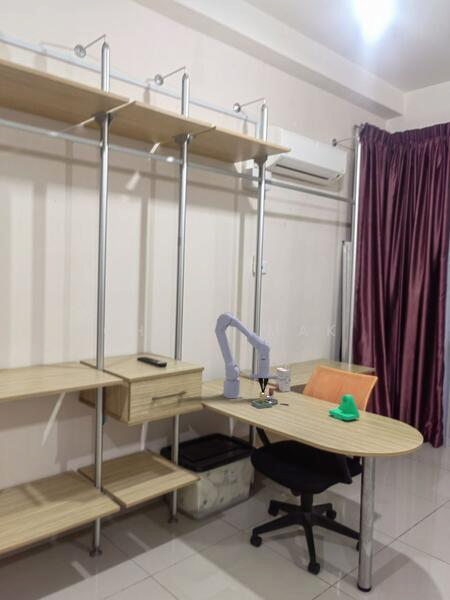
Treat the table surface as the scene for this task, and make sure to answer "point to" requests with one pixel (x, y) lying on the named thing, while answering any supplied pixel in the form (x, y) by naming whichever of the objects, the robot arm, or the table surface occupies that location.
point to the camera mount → (346, 409)
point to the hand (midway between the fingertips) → (263, 392)
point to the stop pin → (262, 398)
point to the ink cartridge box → (283, 378)
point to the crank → (271, 394)
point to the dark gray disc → (271, 401)
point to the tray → (256, 404)
